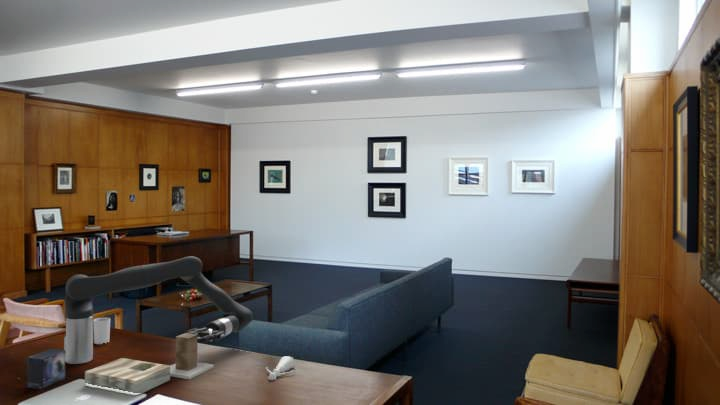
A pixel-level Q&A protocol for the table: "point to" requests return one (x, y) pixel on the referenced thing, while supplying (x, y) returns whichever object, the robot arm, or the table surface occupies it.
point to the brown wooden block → (186, 351)
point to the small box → (46, 368)
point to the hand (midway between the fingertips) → (192, 339)
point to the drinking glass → (101, 330)
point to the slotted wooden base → (129, 375)
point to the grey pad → (191, 373)
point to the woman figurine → (282, 367)
